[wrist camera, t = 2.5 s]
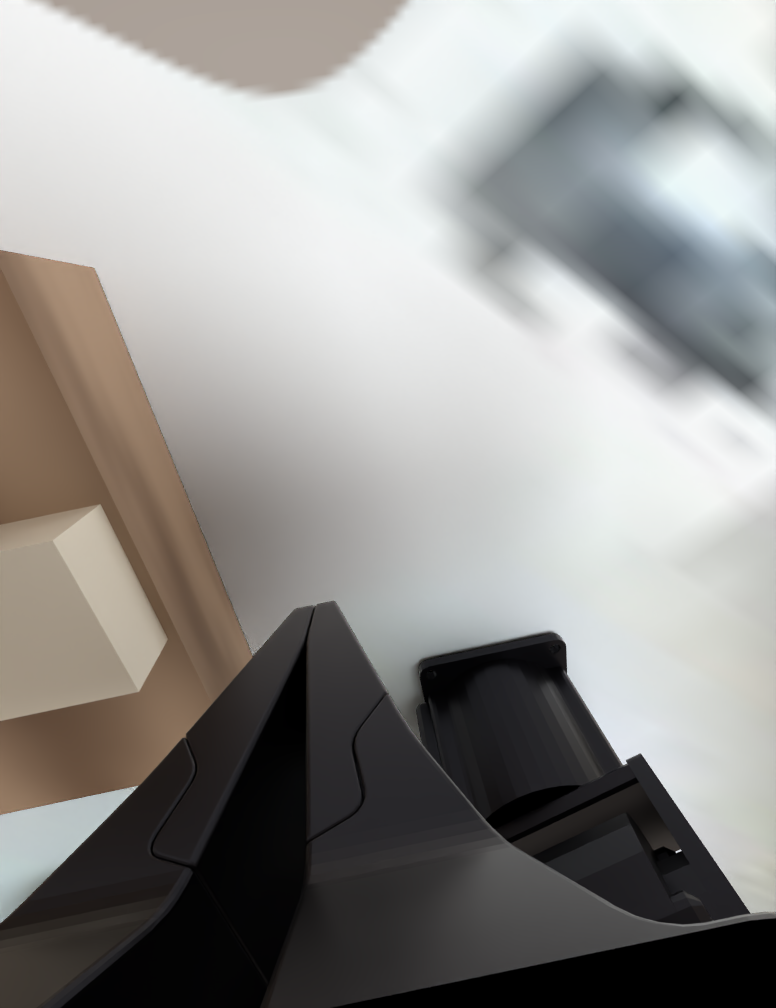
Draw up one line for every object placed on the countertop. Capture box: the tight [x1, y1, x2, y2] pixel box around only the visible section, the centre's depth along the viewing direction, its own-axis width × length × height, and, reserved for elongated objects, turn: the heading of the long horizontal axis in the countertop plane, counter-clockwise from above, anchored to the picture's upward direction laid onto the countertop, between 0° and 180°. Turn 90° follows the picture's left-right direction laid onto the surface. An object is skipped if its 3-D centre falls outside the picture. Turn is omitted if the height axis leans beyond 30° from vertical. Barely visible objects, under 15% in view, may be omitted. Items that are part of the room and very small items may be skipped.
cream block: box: [0, 504, 168, 721], centre depth 11 cm, size 4×4×2 cm
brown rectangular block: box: [0, 250, 253, 815], centre depth 14 cm, size 10×16×4 cm, turn 11°
